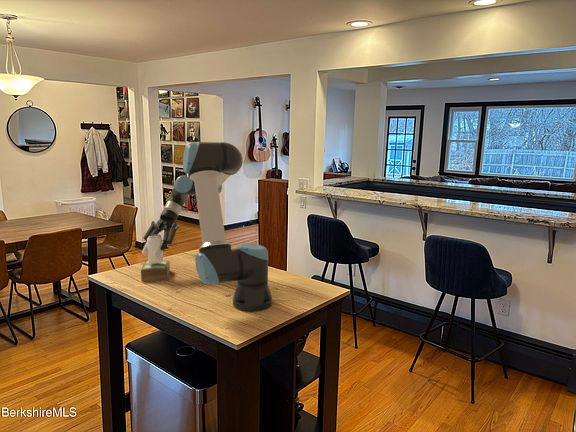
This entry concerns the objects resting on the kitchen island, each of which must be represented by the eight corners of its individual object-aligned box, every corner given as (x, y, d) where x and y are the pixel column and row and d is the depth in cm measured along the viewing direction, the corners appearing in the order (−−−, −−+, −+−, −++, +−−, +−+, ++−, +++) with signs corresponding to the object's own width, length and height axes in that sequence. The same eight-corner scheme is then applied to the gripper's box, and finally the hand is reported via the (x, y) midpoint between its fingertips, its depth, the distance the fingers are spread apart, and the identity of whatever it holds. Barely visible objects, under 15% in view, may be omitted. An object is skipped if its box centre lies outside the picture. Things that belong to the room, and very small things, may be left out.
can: (157, 264, 185) (156, 238, 182) (145, 262, 187) (143, 236, 184) (165, 260, 191) (165, 234, 188) (154, 258, 193) (153, 233, 190)
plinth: (167, 279, 185) (166, 268, 184) (141, 280, 182) (140, 269, 182) (169, 270, 197) (169, 259, 196) (145, 271, 195) (145, 260, 194)
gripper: (191, 219, 197) (172, 261, 184) (156, 216, 203) (136, 256, 191) (185, 210, 191) (165, 253, 178) (149, 207, 197) (127, 248, 185)
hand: (150, 255), depth 185 cm, fingers closed on can, 6 cm apart
